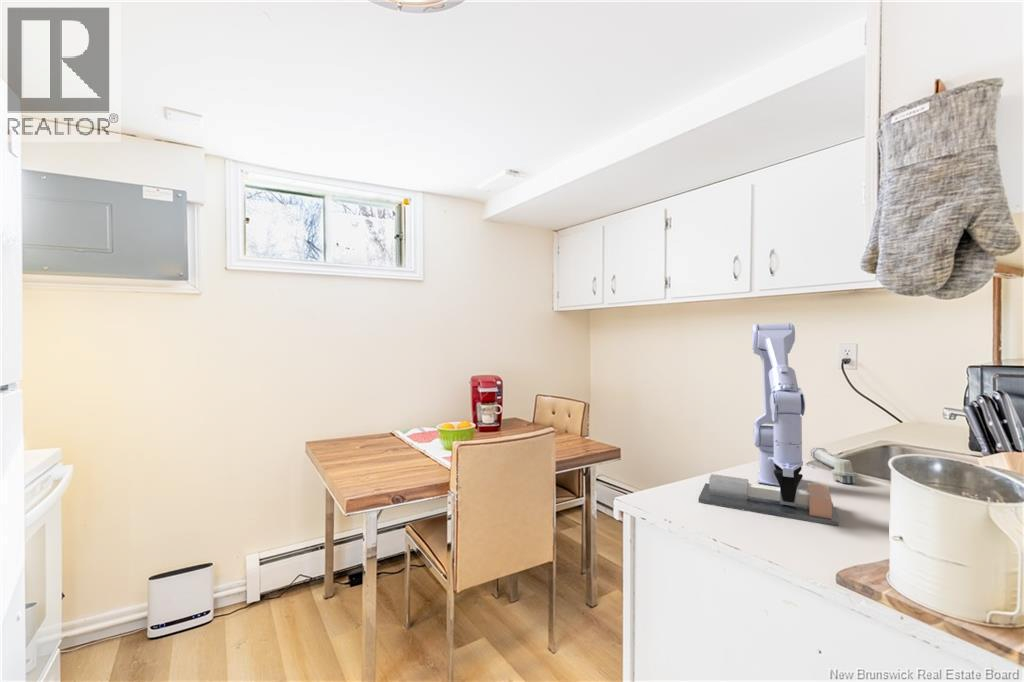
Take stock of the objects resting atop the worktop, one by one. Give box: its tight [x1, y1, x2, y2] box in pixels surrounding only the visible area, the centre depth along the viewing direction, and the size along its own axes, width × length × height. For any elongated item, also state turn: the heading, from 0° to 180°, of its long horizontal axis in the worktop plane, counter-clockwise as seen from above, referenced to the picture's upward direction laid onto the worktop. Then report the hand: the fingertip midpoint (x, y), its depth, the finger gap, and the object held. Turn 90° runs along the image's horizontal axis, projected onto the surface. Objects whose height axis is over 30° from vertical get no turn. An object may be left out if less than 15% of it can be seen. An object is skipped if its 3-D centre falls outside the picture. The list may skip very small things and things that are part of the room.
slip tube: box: [747, 482, 809, 506], centre depth 105 cm, size 4×16×4 cm, turn 58°
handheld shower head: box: [810, 447, 857, 484], centre depth 130 cm, size 5×7×25 cm
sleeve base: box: [698, 473, 839, 527], centre depth 107 cm, size 12×28×5 cm, turn 58°
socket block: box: [806, 482, 833, 519], centre depth 101 cm, size 10×4×4 cm, turn 148°
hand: (788, 498), depth 104 cm, fingers closed on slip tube, 4 cm apart
